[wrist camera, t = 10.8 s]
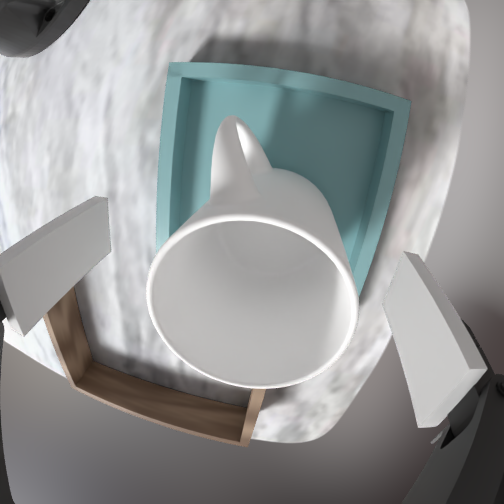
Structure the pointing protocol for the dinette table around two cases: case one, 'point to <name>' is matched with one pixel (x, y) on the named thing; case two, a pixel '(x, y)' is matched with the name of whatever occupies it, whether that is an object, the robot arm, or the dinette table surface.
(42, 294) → the robot arm
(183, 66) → the tray
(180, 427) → the bay
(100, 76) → the dinette table surface
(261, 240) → the mug
